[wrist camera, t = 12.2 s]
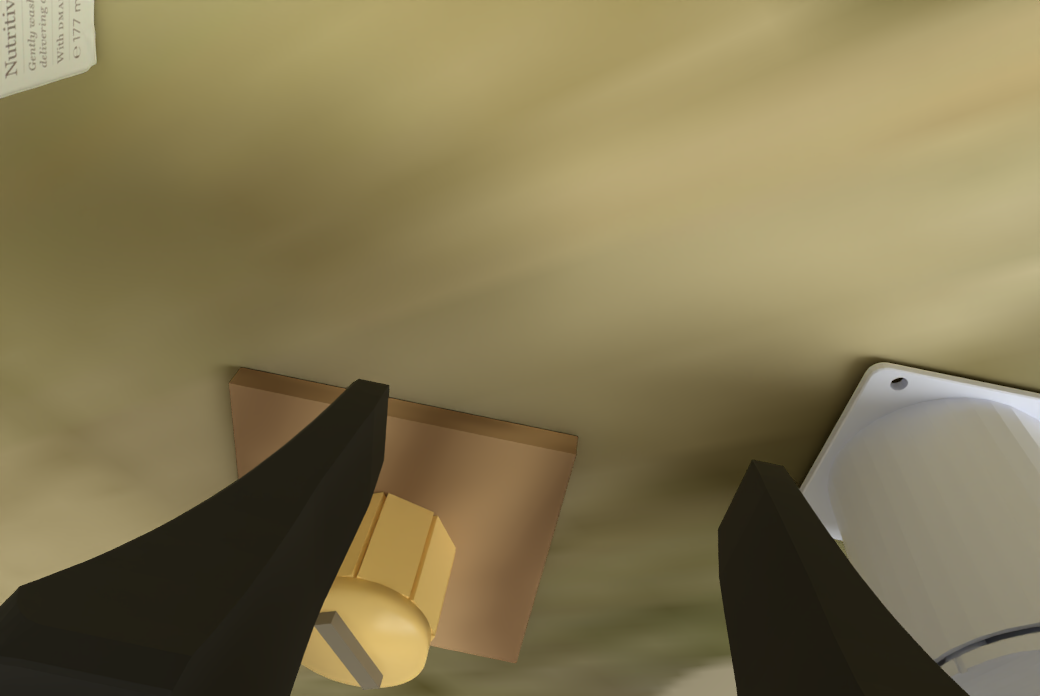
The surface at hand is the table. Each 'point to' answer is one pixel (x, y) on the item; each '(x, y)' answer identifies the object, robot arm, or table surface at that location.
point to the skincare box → (44, 42)
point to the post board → (443, 495)
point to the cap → (384, 598)
